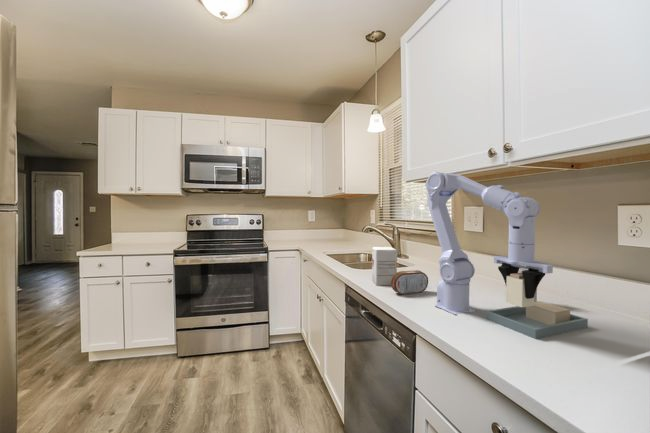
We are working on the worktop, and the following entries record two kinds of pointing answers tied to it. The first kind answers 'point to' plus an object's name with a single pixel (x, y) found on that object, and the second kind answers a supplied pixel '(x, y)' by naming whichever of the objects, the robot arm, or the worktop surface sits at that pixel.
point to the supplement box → (383, 265)
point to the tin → (409, 282)
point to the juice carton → (517, 291)
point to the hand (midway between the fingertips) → (520, 295)
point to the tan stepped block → (547, 313)
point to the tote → (533, 322)
